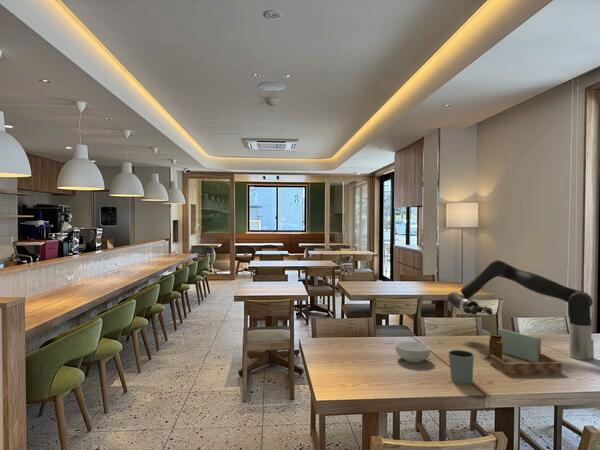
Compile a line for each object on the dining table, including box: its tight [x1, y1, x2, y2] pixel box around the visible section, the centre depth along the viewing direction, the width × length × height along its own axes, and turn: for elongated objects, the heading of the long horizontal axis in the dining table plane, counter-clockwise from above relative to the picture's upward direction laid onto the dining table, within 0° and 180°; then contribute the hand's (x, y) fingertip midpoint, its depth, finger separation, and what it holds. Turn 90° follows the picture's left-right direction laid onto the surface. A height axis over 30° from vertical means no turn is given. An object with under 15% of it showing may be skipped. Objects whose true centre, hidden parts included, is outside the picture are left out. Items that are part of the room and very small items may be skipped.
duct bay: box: [489, 353, 562, 376], centre depth 188 cm, size 26×13×5 cm, turn 92°
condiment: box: [483, 333, 506, 361], centre depth 203 cm, size 7×8×12 cm
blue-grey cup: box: [448, 349, 475, 386], centre depth 174 cm, size 10×10×12 cm
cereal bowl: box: [395, 341, 432, 364], centre depth 201 cm, size 17×17×7 cm
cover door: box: [497, 328, 542, 363], centre depth 205 cm, size 22×1×13 cm, turn 27°
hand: (483, 313), depth 213 cm, fingers open, 8 cm apart
